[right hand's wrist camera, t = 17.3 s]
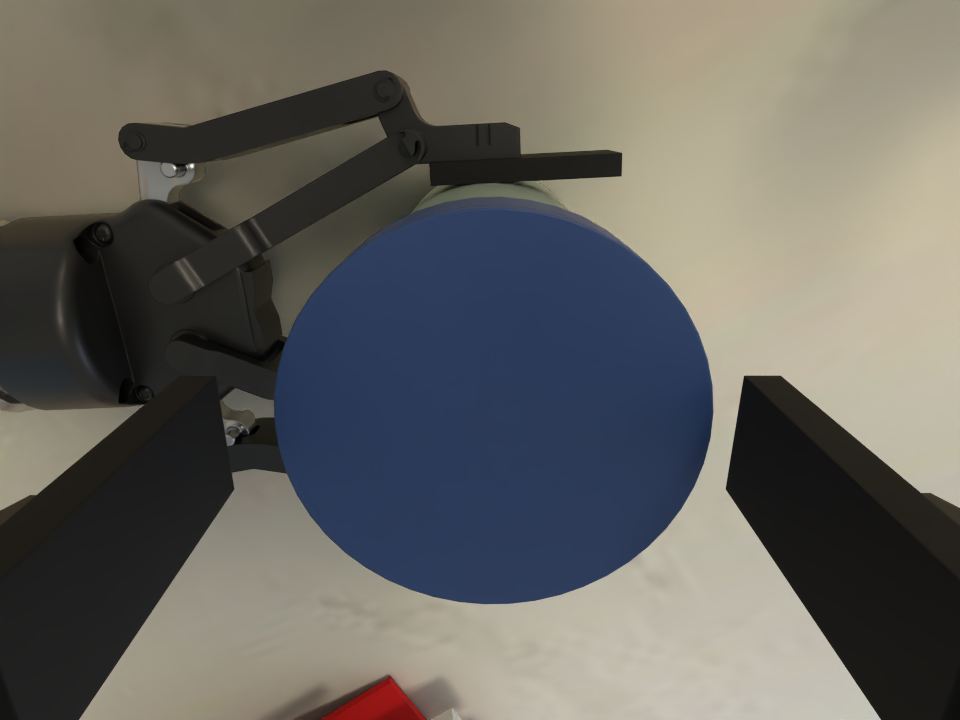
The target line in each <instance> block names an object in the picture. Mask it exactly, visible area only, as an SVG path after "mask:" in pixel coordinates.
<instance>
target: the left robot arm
mask: <svg viewBox="0 0 960 720" xmlns="http://www.w3.org/2000/svg"><path fill="white" fill-rule="evenodd" d="M376 117H379V119H380V122H381V124H382V126H383V128H384V131H385V133H386V135H387V138H385V139H384V140H382V141H380V142H379V143H377V144H375V145H374V146H372V147H370V148H368V149H367V150H365V151H363V152H362V153H360V154H358V155H357V156H355V157H353V158H352V159H350V160H348V161H346V162H345V163H343V164H341V165H340V166H338V167H336V168H335V169H333V170H331V171H330V172H328V173H326V174H325V175H323V176H321V177H319V178H318V179H316V180H314V181H313V182H311V183H309V184H308V185H306V186H304V187H303V188H301V189H299V190H298V191H296V192H294V193H292V194H291V195H289V196H287V197H286V198H284V199H282V200H281V201H279V202H277V203H276V204H274V205H272V206H270V207H269V208H267V209H265V210H264V211H262V212H260V213H259V214H257V215H255V216H254V217H252V218H250V219H248V220H246V221H244V222H242V223H241V224H239V225H237V226H235V227H233V228H232V229H230V230H228V229H227V228H225V227H223V226H222V225H220V224H219V223H217V222H215V221H214V220H212V219H210V218H209V217H207V216H205V215H204V214H202V213H200V212H199V211H197V210H195V209H194V208H192V207H190V206H189V205H187V204H185V203H184V202H182V201H180V200H179V193H180V191H181V189H182V188H183V187H184V186H185V185H187V184H190V183H195V182H198V181H200V180H201V179H202V178H203V177H204V174H205V170H206V165H205V162H210V161H218V160H225V159H230V158H235V157H239V156H243V155H246V154H250V153H253V152H257V151H260V150H264V149H267V148H271V147H274V146H278V145H281V144H285V143H288V142H292V141H295V140H299V139H302V138H306V137H309V136H313V135H316V134H320V133H323V132H327V131H330V130H334V129H337V128H341V127H344V126H348V125H351V124H355V123H358V122H362V121H365V120H369V119H372V118H376ZM118 141H119V144H120V147H121V149H122V150H123V152H124V153H125V154H126V155H127V156H129V157H130V158H132V159H135V160H137V170H138V180H139V191H140V201H138V202H136V203H134V204H133V205H131V206H130V207H129V208H127V209H126V210H125V211H123V212H121V213H109V214H89V215H70V216H50V217H30V218H21V219H17V220H14V221H7V220H2V219H0V413H5V412H23V411H29V410H34V409H42V410H64V409H88V408H113V407H129V406H137V405H145V404H146V403H147V402H149V401H150V400H151V399H152V398H153V397H155V396H156V395H157V394H158V393H159V392H161V391H162V390H163V389H164V388H165V387H167V386H168V385H169V384H170V383H171V382H173V381H174V380H175V379H176V378H177V377H179V376H216V380H217V386H218V392H219V398H220V404H221V411H222V417H223V423H224V429H225V435H226V441H227V448H228V454H229V460H230V466H231V472H237V471H243V470H249V469H259V470H267V471H274V472H281V473H287V472H286V469H285V466H284V463H283V460H282V457H281V453H280V450H279V446H278V440H277V434H276V428H275V419H274V418H257V419H254V418H255V416H254V414H253V412H252V411H250V410H244V411H239V410H233V409H230V408H229V407H227V406H226V405H225V404H224V403H223V401H222V399H223V398H224V397H225V396H226V395H228V394H229V393H230V392H231V391H232V390H234V389H235V388H237V389H240V390H243V391H245V392H248V393H251V394H254V395H256V396H259V397H262V398H265V399H270V400H274V393H275V385H276V377H277V370H278V366H279V363H280V359H281V356H282V352H283V349H284V345H285V342H286V340H287V338H286V337H284V336H281V335H282V329H281V324H280V318H279V315H278V313H277V310H276V308H275V306H274V304H273V302H272V299H271V293H272V283H273V277H272V271H271V265H270V260H267V261H264V258H263V257H262V255H261V253H263V252H265V251H266V250H268V249H270V248H272V247H273V246H275V245H277V244H279V243H280V242H282V241H284V240H286V239H287V238H289V237H291V236H292V235H294V234H296V233H298V232H299V231H301V230H303V229H305V228H306V227H308V226H310V225H311V224H313V223H315V222H317V221H318V220H320V219H322V218H324V217H325V216H327V215H329V214H330V213H332V212H334V211H336V210H337V209H339V208H341V207H343V206H344V205H346V204H348V203H350V202H351V201H353V200H355V199H356V198H358V197H360V196H362V195H363V194H365V193H367V192H369V191H370V190H372V189H374V188H376V187H377V186H379V185H381V184H382V183H384V182H386V181H388V180H389V179H391V178H393V177H395V176H396V175H398V174H400V173H401V172H403V171H405V170H407V169H408V168H410V167H412V166H414V165H415V164H429V166H430V179H431V186H443V185H462V184H481V183H500V182H520V181H539V180H558V179H578V178H597V177H616V176H621V174H622V153H620V152H615V151H610V150H596V151H578V152H559V153H540V154H520V128H518V127H516V126H513V125H510V124H508V123H488V124H469V125H451V126H434V125H431V124H429V123H427V122H426V121H425V120H424V119H423V118H422V117H421V116H420V114H419V112H418V110H417V108H416V105H415V103H414V101H413V98H412V96H411V93H410V89H409V86H408V84H407V83H406V82H405V81H404V80H403V79H402V78H401V77H399V76H397V75H395V74H393V73H391V72H388V71H376V72H373V73H370V74H366V75H363V76H359V77H356V78H353V79H349V80H346V81H342V82H339V83H336V84H332V85H329V86H325V87H322V88H319V89H315V90H312V91H308V92H305V93H302V94H298V95H295V96H291V97H288V98H284V99H281V100H278V101H274V102H271V103H267V104H264V105H261V106H257V107H254V108H250V109H247V110H244V111H240V112H237V113H233V114H230V115H227V116H223V117H220V118H216V119H213V120H210V121H206V122H203V123H199V124H196V125H183V124H173V123H130V124H126V125H125V126H123V127H122V129H121V130H120V132H119V138H118Z"/></svg>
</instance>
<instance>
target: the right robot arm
mask: <svg viewBox="0 0 960 720" xmlns="http://www.w3.org/2000/svg"><path fill="white" fill-rule="evenodd" d="M233 490H234V485H233V479H232V472H231V466H230V460H229V454H228V448H227V441H226V435H225V429H224V423H223V417H222V411H221V404H220V398H219V392H218V386H217V380H216V376H179V377H177V378H176V379H175V380H174V381H173V382H171V383H170V384H169V385H168V386H167V387H165V388H164V389H163V390H162V391H161V392H159V393H158V394H157V395H156V396H155V397H153V398H152V399H151V400H150V401H149V402H147V403H146V404H145V405H144V406H143V407H141V408H140V409H139V410H138V411H137V412H135V413H134V414H133V415H132V416H131V417H130V418H128V419H127V420H126V421H125V422H124V423H122V424H121V425H120V426H119V427H118V428H116V429H115V430H114V431H113V432H112V433H110V434H109V435H108V436H107V437H106V438H104V439H103V440H102V441H101V442H100V443H98V444H97V445H96V446H95V447H94V448H92V449H91V450H90V451H89V452H88V453H86V454H85V455H84V456H83V457H82V458H80V459H79V460H78V461H77V462H76V463H74V464H73V465H72V466H71V467H70V468H69V469H67V470H66V471H65V472H64V473H63V474H61V475H60V476H59V477H58V478H57V479H55V480H54V481H53V482H52V483H51V484H49V485H48V486H47V487H46V488H45V489H43V490H42V491H41V492H40V493H39V494H37V495H30V496H28V497H26V498H24V499H22V500H20V501H18V502H16V503H14V504H12V505H10V506H9V507H7V508H5V509H3V510H1V511H0V720H79V719H80V717H81V716H82V714H83V713H84V711H85V710H86V708H87V707H88V705H89V704H90V702H91V701H92V699H93V698H94V696H95V695H96V694H97V692H98V691H99V689H100V688H101V686H102V685H103V683H104V682H105V680H106V679H107V677H108V676H109V674H110V673H111V671H112V670H113V668H114V667H115V665H116V664H117V662H118V661H119V659H120V658H121V656H122V655H123V653H124V652H125V650H126V649H127V648H128V646H129V645H130V643H131V642H132V640H133V639H134V637H135V636H136V634H137V633H138V631H139V630H140V628H141V627H142V625H143V624H144V622H145V621H146V619H147V618H148V616H149V615H150V613H151V612H152V610H153V609H154V607H155V606H156V604H157V603H158V601H159V600H160V599H161V597H162V596H163V594H164V593H165V591H166V590H167V588H168V587H169V585H170V584H171V582H172V581H173V579H174V578H175V576H176V575H177V573H178V572H179V570H180V569H181V567H182V566H183V564H184V563H185V561H186V560H187V558H188V557H189V555H190V554H191V553H192V551H193V550H194V548H195V547H196V545H197V544H198V542H199V541H200V539H201V538H202V536H203V535H204V533H205V532H206V530H207V529H208V527H209V526H210V524H211V523H212V521H213V520H214V518H215V517H216V515H217V514H218V512H219V511H220V509H221V508H222V507H223V505H224V504H225V502H226V501H227V499H228V498H229V496H230V495H231V493H232V492H233ZM726 490H727V492H728V493H729V495H730V496H731V498H732V499H733V501H734V502H735V504H736V505H737V507H738V508H739V509H740V511H741V512H742V514H743V515H744V517H745V518H746V520H747V521H748V523H749V524H750V526H751V527H752V529H753V530H754V532H755V533H756V535H757V536H758V538H759V539H760V541H761V542H762V544H763V545H764V547H765V548H766V550H767V551H768V553H769V554H770V555H771V557H772V558H773V560H774V561H775V563H776V564H777V566H778V567H779V569H780V570H781V572H782V573H783V575H784V576H785V578H786V579H787V581H788V582H789V584H790V585H791V587H792V588H793V590H794V591H795V593H796V594H797V596H798V597H799V599H800V600H801V602H802V603H803V604H804V606H805V607H806V609H807V610H808V612H809V613H810V615H811V616H812V618H813V619H814V621H815V622H816V624H817V625H818V627H819V628H820V630H821V631H822V633H823V634H824V636H825V637H826V639H827V640H828V642H829V643H830V645H831V646H832V648H833V649H834V650H835V652H836V653H837V655H838V656H839V658H840V659H841V661H842V662H843V664H844V665H845V667H846V668H847V670H848V671H849V673H850V674H851V676H852V677H853V679H854V680H855V682H856V683H857V685H858V686H859V688H860V689H861V691H862V692H863V694H864V695H865V696H866V698H867V699H868V701H869V702H870V704H871V705H872V707H873V708H874V710H875V711H876V713H877V714H878V716H879V717H880V719H881V720H960V508H958V507H956V506H955V505H953V504H951V503H949V502H947V501H945V500H943V499H941V498H939V497H937V496H935V495H933V494H931V493H920V492H919V491H918V490H917V489H915V488H914V487H913V486H912V485H911V484H909V483H908V482H907V481H906V480H905V479H903V478H902V477H901V476H900V475H899V474H897V473H896V472H895V471H894V470H893V469H891V468H890V467H889V466H888V465H887V464H885V463H884V462H883V461H882V460H881V459H880V458H878V457H877V456H876V455H875V454H874V453H872V452H871V451H870V450H869V449H868V448H866V447H865V446H864V445H863V444H862V443H860V442H859V441H858V440H857V439H856V438H854V437H853V436H852V435H851V434H850V433H848V432H847V431H846V430H845V429H844V428H842V427H841V426H840V425H839V424H838V423H836V422H835V421H834V420H833V419H832V418H830V417H829V416H828V415H827V414H826V413H825V412H823V411H822V410H821V409H820V408H819V407H817V406H816V405H815V404H814V403H813V402H811V401H810V400H809V399H808V398H807V397H805V396H804V395H803V394H802V393H801V392H799V391H798V390H797V389H796V388H795V387H793V386H792V385H791V384H790V383H789V382H787V381H786V380H785V379H784V378H783V377H781V376H744V380H743V386H742V392H741V398H740V404H739V411H738V417H737V423H736V429H735V435H734V441H733V448H732V454H731V460H730V466H729V472H728V478H727V485H726Z"/></svg>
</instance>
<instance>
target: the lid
mask: <svg viewBox="0 0 960 720" xmlns="http://www.w3.org/2000/svg"><path fill="white" fill-rule="evenodd" d="M274 419H275V428H276V434H277V440H278V446H279V450H280V453H281V457H282V460H283V463H284V466H285V469H286V472H287V475H288V477H289V479H290V481H291V483H292V485H293V487H294V489H295V492H296V494H297V496H298V497H299V499H300V500H301V502H302V503H303V505H304V507H305V508H306V510H307V511H308V513H309V514H310V516H311V517H312V518H313V520H314V521H315V522H316V523H317V524H318V525H319V527H320V528H321V529H322V530H323V531H324V533H325V534H326V535H327V536H328V537H329V538H330V539H331V540H332V541H333V542H334V543H336V544H337V545H338V546H339V547H340V548H341V549H342V550H343V551H344V552H345V553H347V554H348V555H349V556H351V557H352V558H353V559H355V560H356V561H358V562H359V563H360V564H362V565H363V566H364V567H366V568H368V569H369V570H371V571H373V572H375V573H376V574H378V575H380V576H382V577H383V578H385V579H387V580H389V581H392V582H394V583H396V584H398V585H401V586H403V587H405V588H408V589H410V590H413V591H417V592H420V593H423V594H426V595H430V596H433V597H437V598H442V599H447V600H452V601H457V602H467V603H478V604H511V603H519V602H527V601H535V600H540V599H544V598H548V597H553V596H557V595H561V594H564V593H567V592H570V591H572V590H575V589H578V588H581V587H584V586H586V585H588V584H590V583H592V582H595V581H597V580H599V579H601V578H603V577H605V576H607V575H609V574H610V573H612V572H614V571H615V570H617V569H618V568H620V567H622V566H623V565H625V564H626V563H628V562H629V561H631V560H632V559H633V558H634V557H636V556H637V555H638V554H639V553H641V552H642V551H643V550H645V549H646V548H647V547H648V546H649V545H650V544H651V543H652V542H653V541H654V540H655V539H656V538H657V537H658V536H659V535H660V534H661V533H662V532H663V531H664V530H665V529H666V528H667V527H668V525H669V524H670V523H671V521H672V520H673V519H674V518H675V516H676V515H677V514H678V512H679V511H680V510H681V508H682V507H683V505H684V503H685V502H686V500H687V498H688V496H689V495H690V493H691V491H692V489H693V488H694V486H695V483H696V481H697V479H698V476H699V474H700V471H701V469H702V466H703V464H704V461H705V457H706V453H707V449H708V445H709V441H710V437H711V428H712V419H713V389H712V381H711V376H710V370H709V365H708V359H707V356H706V353H705V351H704V348H703V345H702V342H701V339H700V336H699V333H698V331H697V329H696V327H695V326H694V324H693V322H692V320H691V318H690V316H689V314H688V312H687V310H686V308H685V307H684V306H683V304H682V303H681V301H680V300H679V299H678V297H677V296H676V295H675V293H674V292H673V290H672V289H671V288H670V286H669V285H668V284H667V283H666V282H665V281H664V280H663V279H662V278H661V277H660V276H659V275H658V274H657V273H656V272H655V271H654V270H653V269H652V268H651V267H650V266H649V265H648V264H647V263H646V262H645V261H644V260H643V259H642V258H641V257H639V256H638V255H637V254H636V253H635V252H634V251H633V250H631V249H630V248H629V247H628V246H627V245H625V244H624V243H623V242H621V241H620V240H619V239H617V238H616V237H615V236H614V235H612V234H611V233H610V232H608V231H607V230H606V229H604V228H602V227H600V226H598V225H597V224H595V223H593V222H591V221H590V220H588V219H586V218H584V217H583V216H580V215H577V214H575V213H572V212H570V211H567V210H565V209H562V208H560V207H557V206H553V205H549V204H545V203H541V202H537V201H533V200H528V199H519V198H509V197H473V198H467V199H461V200H455V201H449V202H444V203H440V204H437V205H434V206H431V207H428V208H424V209H421V210H418V211H416V212H414V213H411V214H409V215H407V216H405V217H403V218H401V219H399V220H396V221H394V222H392V223H391V224H389V225H388V226H386V227H385V228H383V229H382V230H380V231H378V232H377V233H375V234H374V235H372V236H371V237H369V238H368V239H367V240H366V241H365V242H364V243H363V244H361V245H360V246H359V247H358V248H357V249H356V250H354V251H353V252H352V253H351V254H350V255H349V256H348V257H347V258H346V259H345V260H344V261H342V262H341V263H340V264H339V265H338V266H337V267H336V268H335V269H334V270H333V271H332V272H331V273H330V274H329V275H328V276H327V278H326V279H325V280H324V281H323V282H322V283H321V284H320V286H319V287H318V288H317V289H316V290H315V291H314V293H313V294H312V295H311V296H310V298H309V300H308V301H307V303H306V304H305V306H304V307H303V309H302V310H301V312H300V314H299V315H298V317H297V318H296V320H295V322H294V325H293V327H292V329H291V331H290V334H289V336H288V338H287V340H286V342H285V345H284V349H283V352H282V356H281V359H280V363H279V366H278V370H277V377H276V385H275V393H274Z"/></svg>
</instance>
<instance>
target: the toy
mask: <svg viewBox="0 0 960 720" xmlns="http://www.w3.org/2000/svg"><path fill="white" fill-rule="evenodd" d="M321 720H426V718H425V717H424V716H423V715H422V714H421V713H420V711H419V710H418V709H417V708H416V707H415V705H414V704H413V703H412V702H411V701H410V700H409V698H408V697H407V696H406V695H405V694H404V693H403V691H402V690H401V689H400V688H399V687H398V686H397V684H396V683H395V682H394V681H393V680H392V678H391V677H389V678H387V679H386V680H384V681H382V682H381V683H379V684H378V685H376V686H374V687H373V688H371V689H369V690H368V691H366V692H365V693H363V694H361V695H360V696H358V697H356V698H355V699H353V700H351V701H350V702H348V703H347V704H345V705H343V706H342V707H340V708H338V709H337V710H335V711H334V712H332V713H330V714H329V715H327V716H325V717H324V718H322V719H321ZM430 720H462V719H461V718H460V717H459V716H458V714H457V713H456V712H455V710H454V709H453V708H450V709H448V710H447V711H445V712H443V713H441V714H439V715H438V716H436V717H434V718H432V719H430Z"/></svg>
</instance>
